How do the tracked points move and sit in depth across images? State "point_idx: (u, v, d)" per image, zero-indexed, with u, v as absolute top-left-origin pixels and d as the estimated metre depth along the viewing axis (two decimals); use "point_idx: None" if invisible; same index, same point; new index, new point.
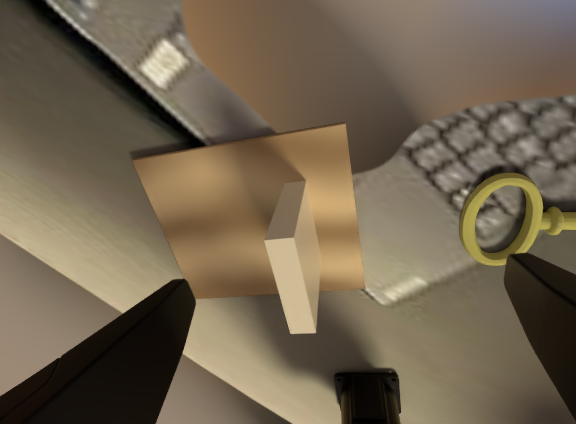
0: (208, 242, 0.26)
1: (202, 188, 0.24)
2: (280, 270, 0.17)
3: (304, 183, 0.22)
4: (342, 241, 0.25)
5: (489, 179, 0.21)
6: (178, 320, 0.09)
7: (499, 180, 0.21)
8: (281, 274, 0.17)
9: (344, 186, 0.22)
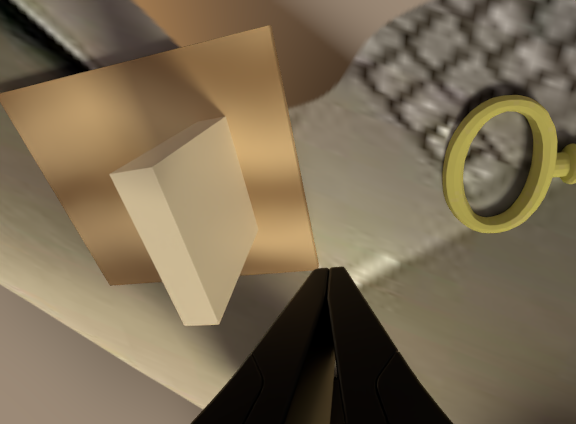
0: (114, 209, 0.20)
1: (93, 132, 0.18)
2: (146, 225, 0.11)
3: (220, 118, 0.16)
4: (283, 205, 0.18)
5: (479, 106, 0.15)
6: None
7: (492, 104, 0.14)
8: (149, 232, 0.11)
9: (277, 124, 0.16)
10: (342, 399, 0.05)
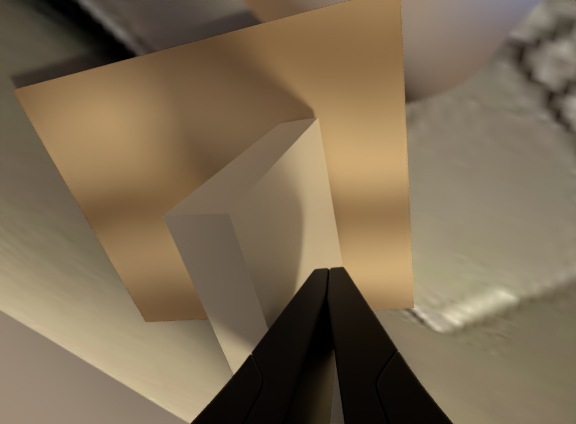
0: (157, 234, 0.16)
1: (137, 138, 0.14)
2: (211, 291, 0.07)
3: (312, 121, 0.12)
4: (380, 230, 0.14)
5: None
6: None
7: None
8: (215, 300, 0.07)
9: (390, 125, 0.12)
10: (342, 399, 0.05)
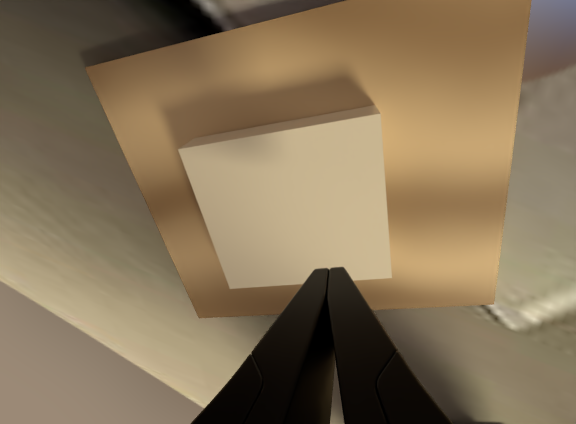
0: None
1: (216, 121, 0.13)
2: None
3: (363, 116, 0.11)
4: (471, 221, 0.14)
5: None
6: None
7: None
8: None
9: (500, 106, 0.11)
10: (342, 399, 0.05)
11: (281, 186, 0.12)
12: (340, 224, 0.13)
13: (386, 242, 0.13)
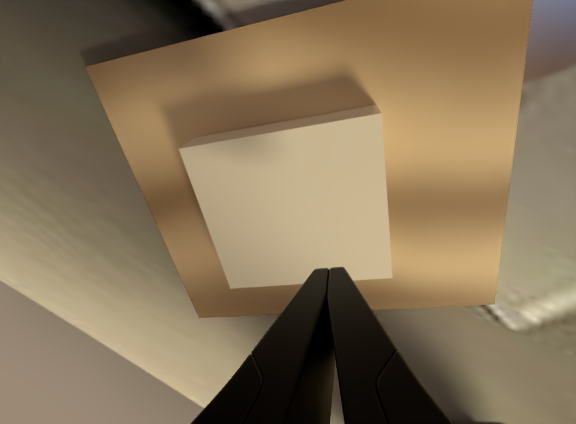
0: None
1: (217, 120, 0.13)
2: None
3: (364, 115, 0.11)
4: (471, 221, 0.14)
5: None
6: None
7: None
8: None
9: (501, 106, 0.11)
10: (342, 399, 0.05)
11: (282, 186, 0.12)
12: (341, 224, 0.13)
13: (387, 242, 0.13)
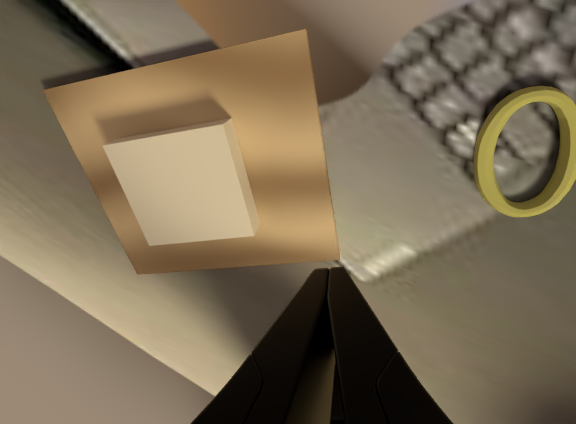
0: None
1: (132, 127, 0.19)
2: None
3: (213, 125, 0.17)
4: (309, 197, 0.20)
5: (504, 100, 0.16)
6: None
7: (517, 97, 0.15)
8: None
9: (308, 120, 0.17)
10: (342, 399, 0.05)
11: (171, 171, 0.18)
12: (213, 197, 0.19)
13: (245, 210, 0.19)
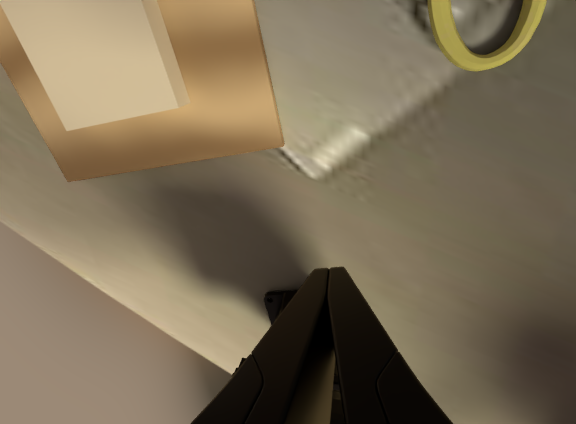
0: None
1: None
2: None
3: None
4: (241, 63, 0.17)
5: None
6: None
7: None
8: None
9: None
10: (342, 399, 0.05)
11: (75, 22, 0.16)
12: (126, 56, 0.16)
13: (164, 71, 0.16)
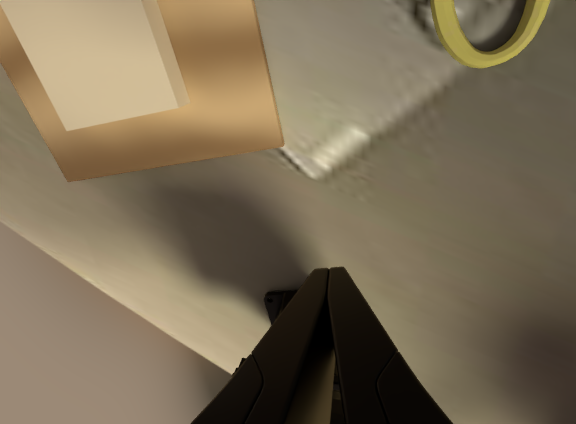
0: None
1: None
2: None
3: None
4: (241, 63, 0.17)
5: None
6: None
7: None
8: None
9: None
10: (342, 399, 0.05)
11: (75, 22, 0.16)
12: (126, 56, 0.16)
13: (164, 72, 0.16)
